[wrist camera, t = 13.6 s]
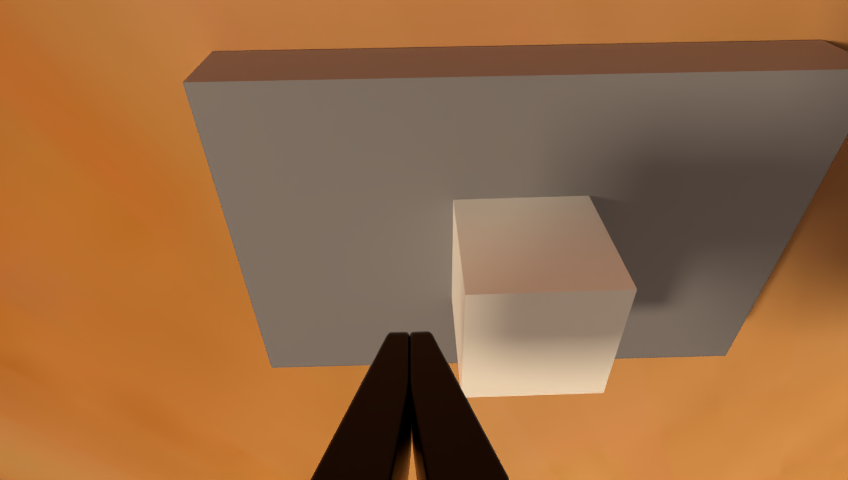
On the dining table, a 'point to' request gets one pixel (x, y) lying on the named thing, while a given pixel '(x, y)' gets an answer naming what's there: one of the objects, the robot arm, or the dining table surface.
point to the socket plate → (512, 176)
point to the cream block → (536, 296)
